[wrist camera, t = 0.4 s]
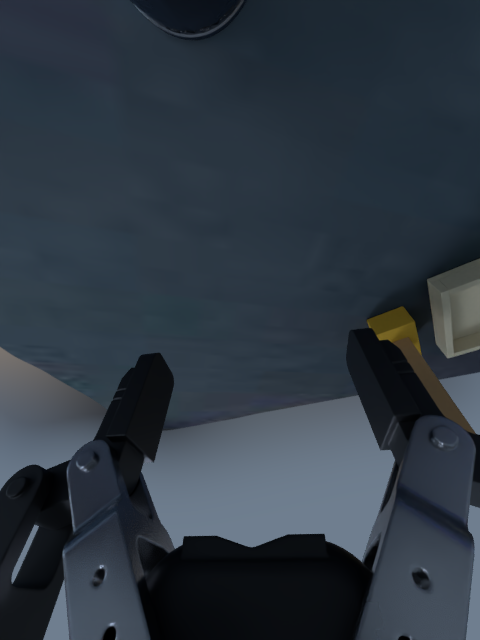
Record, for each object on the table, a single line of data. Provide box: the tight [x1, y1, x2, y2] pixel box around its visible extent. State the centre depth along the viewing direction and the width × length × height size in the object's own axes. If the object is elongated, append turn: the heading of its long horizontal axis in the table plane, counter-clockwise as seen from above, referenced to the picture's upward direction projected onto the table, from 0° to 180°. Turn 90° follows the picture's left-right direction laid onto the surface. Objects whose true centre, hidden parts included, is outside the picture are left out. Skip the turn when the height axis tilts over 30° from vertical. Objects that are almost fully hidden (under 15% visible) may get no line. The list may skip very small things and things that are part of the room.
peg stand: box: [367, 306, 476, 434], centre depth 28 cm, size 4×7×16 cm, turn 32°
